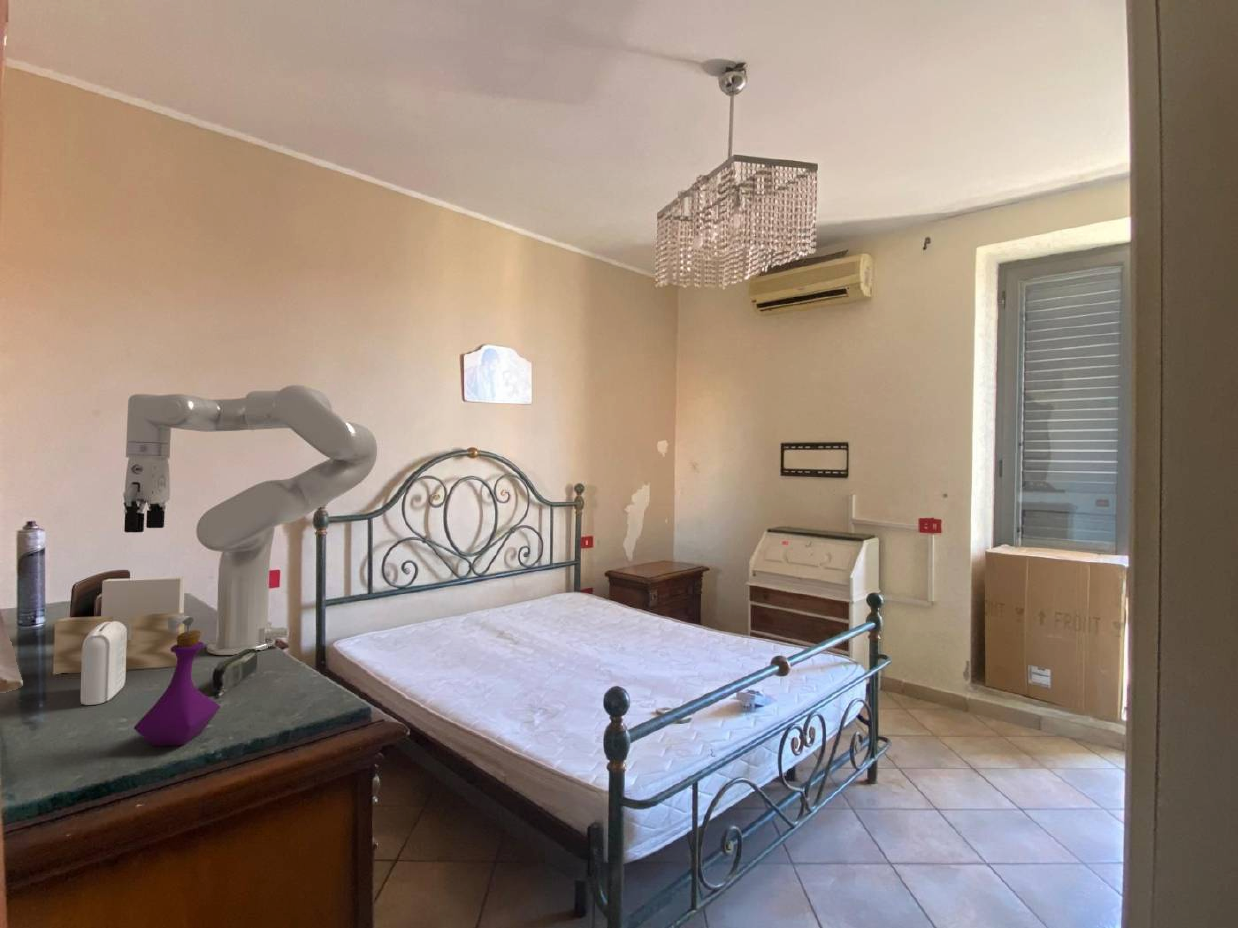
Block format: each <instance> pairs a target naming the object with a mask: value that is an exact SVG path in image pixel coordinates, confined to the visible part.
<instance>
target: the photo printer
mask: <svg viewBox="0 0 1238 928" xmlns="http://www.w3.org/2000/svg"><path fill="white" fill-rule="evenodd" d="M126 645H127V629H126V627H125V626H124V625H123V624H122V623H120V622H118V621H112V622H104V623H102V624H100V625H98V626H97V627H95V628H94V629H93V630H92V631H91V632H90V633H89V634H88V635H87V637H86V638H85V640H84V643H83V648H82V672H81V673H80V675H81V676H80V704H81V705H85V706H94V705H102V704H103V703H104V704H105V703H106V702H108V701H110V700H111V699H112V698H113V697H115V695H117V694H118V693H119V691H121V689H123V687H124V686H125V684H126V673H127V672H126V671H127V670H126Z"/></svg>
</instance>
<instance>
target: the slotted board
mask: <svg viewBox="0 0 1238 928" xmlns="http://www.w3.org/2000/svg"><path fill="white" fill-rule="evenodd" d="M173 616H186V612H184V613H167V614H144V615H136V616H134V617H132V618H131V640H129V641H127V645H126V671H127V670H139V669H142V670H143V669H157V668H158V669H159V668H170V667H171V668H172V667H173V668H174V667H175V668H176V665H177V657H176V654H175V653H174V652H171V650H170V649H171V647H172V646H174V645H176V644H177V638H176V637H177V636H178V635H180V634H181V633H184V632H185V624H183V623H181V624H180V625H179V627H178V628H177V629H176V630H175V631H174V632H173V633H171V632H170V630H169V629H168V618H169V617H173ZM112 621H113V616H97V617H74V618H70V617H62V618H59V619H57V620H55V621H54V643H53V672H52V674H53V675H62V674H61V673H68V674H81V672H82V648H83V643H84V640H85V638H86V637H87V635H88V634H89V633H90V632H91V631H92V630H93V629H94V628H95V627H97V626H98V625H100V624H102V623H104V622H112Z"/></svg>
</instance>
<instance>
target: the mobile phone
mask: <svg viewBox="0 0 1238 928" xmlns="http://www.w3.org/2000/svg"><path fill="white" fill-rule="evenodd" d="M257 667H258V651H256V650H255V649H245V650H243V651H242V652H240V653H237V654H236V655H231V657H228V658H226V659H224V660H222V661H220V662H218V664H217V665H216V667H214V670H213V672H212V690H213V692H214V693H217V694H216V696H215V698H221V697H222V696H223V695H224V694H226V693H227V692H228V691H230V690H231V689H232V688H234V687H236V686H237V685H239V684H240V683H241V681H242V682H243V681H245V680H246V679H248V678H249V677H251V676H252V675H253V674H252V673H254V672H255V673H256V671H257V670H258V669H257ZM256 669H257V670H256ZM255 670H256V671H255ZM255 673H254V674H255ZM251 674H252V675H251ZM250 675H251V676H250ZM248 676H249V677H248ZM247 677H248V678H247Z"/></svg>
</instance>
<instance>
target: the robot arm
mask: <svg viewBox="0 0 1238 928" xmlns="http://www.w3.org/2000/svg"><path fill="white" fill-rule="evenodd" d="M332 408H333V407H332V404H331V402H330V399H329V398H328V397H327V396H326V395H325V394H324V393H323V392H320V391H319V390H316V389H312V388H310V387H307V386H304V385H300V384H294V385H293V384H292V385H287V386H285V387H283V388H281V389H280V390H253V391H250V392H248V393H247V394H246V395H245V397H241V398H231V399H230V398H229V399H228V398H224V399H223V398H222V399H221V398H220V399H211V398H209V399H207V398H202V397H198V396H194V395H188V394H182V393H169V394H162V395H158V394H157V395H156V394H151V393H148V394H147V393H135V394H132V395H130V396H129V398H128V401H127V419H126V423H127V425H126V439H125V440H126V444H125V458H128V459H127V465H126V471H125V482H124V483H125V485H124V492H123V494H122V496H123V501H124V502H123V506H124V510H123V513H124V526H123V527H124V529H123V531H124V533H143V532H144V529H145V527H146V528H147V529H163V528H165V514H166V513H165V510H166V504H165V503H167V502H168V501H169V500H170V498H171V494H170V493H171V491H170V490H171V488H170V487H171V486H170V485H171V484H170V483H171V481H170V465H169V464H170V463H169V459H171V436H172V435H171V434H172V429H178V430H184V431H185V430H187V431H195V432H206V433H207V432H234V431H235V432H238V431H247V430H248V431H255V430H274V429H290V430H291V431H293V432H294V433H295V434H297V435H298V436H299V438H302V439H303V440H304V441H305V442H306V443H308V445H310V446H311V447H312V448H314V449H315V450H316V451H317V452H319V453H320V454H322V455H323V456H325V457H327V458H329V459H327V460H325V461H323V462H320V463H318V464H316V465H314V466H312V467H309V468H308V469H307V470H305V471H303V472H301V473H299V474H297V475H295V476H293V477H290V478H286V479H271V480H266V481H262V482H259V483H257V484H254V485H252V486H250V487H249V488H247V489H245V490H242V491H240V492H238V493H237V494H235V495H233V496H231V497H228V498H227V499H226V500H224V501H222V502H220V503H218V504H216V505H214V506H213V507H211V508H209V509H207V511H206V512H204V513H203V515H202V516H201V517H200V519H199V520H198V522H197V524H196V530H195V531H196V532H195V533H196V538H197V540H198V542H199V543H200V544H201V545H202V547H203V546H204V548H206V549H208V550H210V551H213V552H219V553H221V555H220V558H219V563H218V565H219V566H218V575H217V576H218V578H217V581H218V582H217V605H216V606H217V608H216V636H215V637H216V640H214V641H212V642H210V643H209V644H208V645H206V646H207V647H206V648H207V650H206V651H207V652H208V653H209V654H211V655H217V656H218V655H219V656H234V655H235V654H237V653H240V652H242V651H243V650H245V649H255V650H260V651H263V650H264V651H265V650H266V649H269V648H268V646H271V647H273V646H274V645H275V644H276V639H278V638H279V639H285V638H288V637H289V634H290V628H286V627H276V628H275V627H273V626H272V623H273V622H272V621H269V591H270V570H271V569H270V567H271V566H270V565H271V552H272V546H273V542H274V541H273V540H274V536H275V529H276V527H278V526H280V525H284V524H285V525H286V524H289V523H294V522H297V521H300V520H301V519H303V518H304V517H306V516H308V515H309V514H311V513H313V512H314V511H316V510H318V509H320V508H322V507H323V506H325V505H327V504H328V503H330V502H332V501H333V500H335V499H337V498H339V497H340V496H342V495H344V494H345V493H348V492H349V491H351V490H353V488H355V487H356V486H358V485H360V484H361V483H362V482H363V481H364V480H365V479H366V478H367V477H368V476H369V475H370V473H371V471H372V470H373V468H374V466H375V463H376V461H377V458H378V457H377V456H378V446H377V440H376V438H375V435H374V434H373V433H372V431H370V430H369V429H368V428H367V427H366V426H363V425H361V424H358V423H354V422H351V421H346V420H345V419H344V418H342V417H341V416H340V415H339V414H337V413H336V412H335V411H334V410H333V409H332ZM146 505H147V507H148V509H147V510H146V524H145V513H144V512H143V511H144V509H145V507H146ZM145 525H146V526H145ZM272 645H273V646H272Z"/></svg>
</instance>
